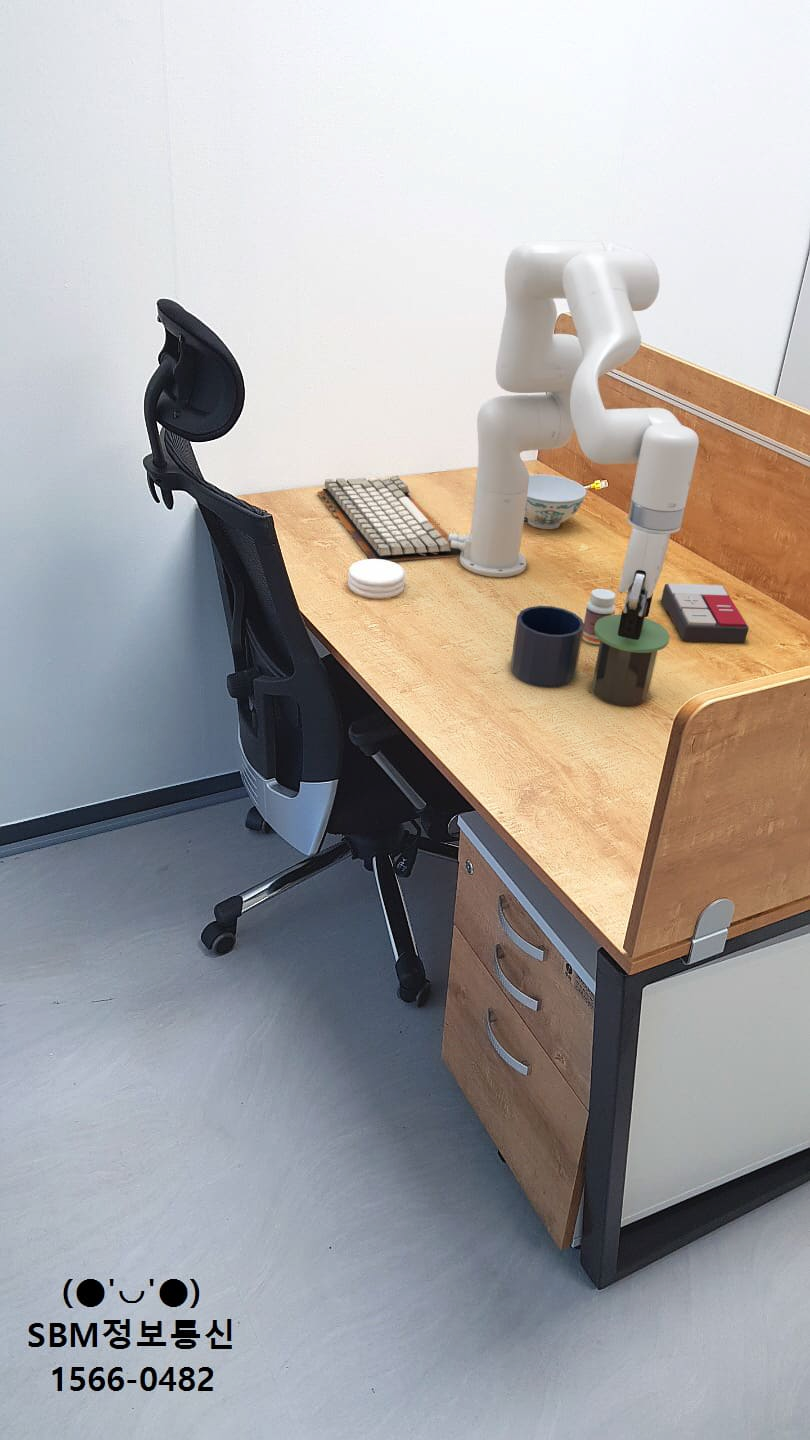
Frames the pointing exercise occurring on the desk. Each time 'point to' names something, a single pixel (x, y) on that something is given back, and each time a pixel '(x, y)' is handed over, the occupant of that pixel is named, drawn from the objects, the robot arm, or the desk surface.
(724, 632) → the calculator
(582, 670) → the desk surface
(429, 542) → the mechanical keyboard
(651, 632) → the lid
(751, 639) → the desk surface
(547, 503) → the chinaware
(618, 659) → the cup
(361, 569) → the white round stack
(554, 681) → the tin
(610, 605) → the pill bottle
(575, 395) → the robot arm
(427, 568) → the desk surface
